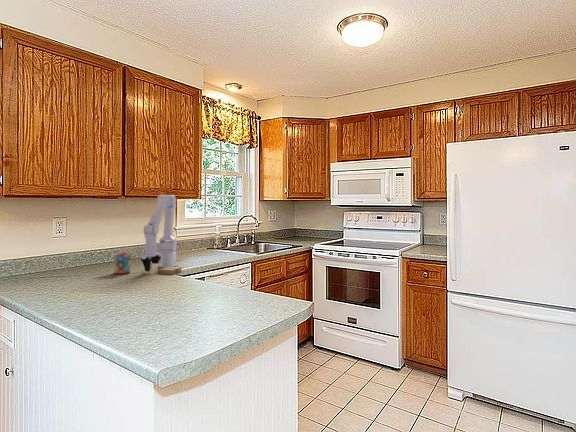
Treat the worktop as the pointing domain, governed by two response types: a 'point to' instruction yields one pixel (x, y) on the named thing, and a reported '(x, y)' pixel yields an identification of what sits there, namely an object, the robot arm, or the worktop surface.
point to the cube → (152, 268)
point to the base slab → (169, 270)
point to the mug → (122, 263)
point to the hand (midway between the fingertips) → (151, 270)
